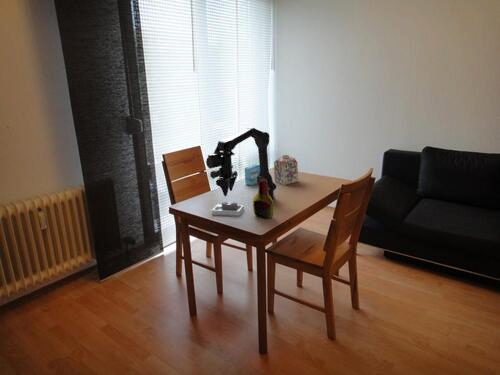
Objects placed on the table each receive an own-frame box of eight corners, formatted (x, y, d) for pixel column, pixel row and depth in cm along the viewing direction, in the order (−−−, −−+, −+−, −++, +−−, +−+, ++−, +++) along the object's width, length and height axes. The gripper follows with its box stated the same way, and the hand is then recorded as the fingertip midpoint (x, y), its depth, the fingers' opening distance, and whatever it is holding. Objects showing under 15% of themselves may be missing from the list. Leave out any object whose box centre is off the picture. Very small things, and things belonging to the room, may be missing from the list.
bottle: (276, 216, 182) (275, 179, 176) (269, 221, 177) (267, 182, 171) (258, 212, 189) (256, 176, 183) (250, 216, 185) (248, 179, 179)
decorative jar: (288, 178, 247) (287, 152, 242) (298, 181, 238) (298, 155, 232) (273, 181, 242) (272, 155, 236) (283, 185, 232) (283, 158, 227)
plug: (238, 209, 192) (237, 202, 191) (236, 212, 189) (236, 205, 188) (219, 208, 195) (218, 202, 194) (216, 211, 192) (216, 204, 190)
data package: (250, 185, 235) (249, 168, 231) (245, 184, 238) (244, 167, 235) (262, 181, 243) (261, 164, 239) (257, 180, 246) (257, 163, 242)
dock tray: (243, 209, 194) (243, 205, 194) (239, 215, 186) (239, 211, 185) (217, 208, 198) (217, 204, 197) (212, 214, 190) (211, 210, 189)
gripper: (217, 160, 194) (219, 187, 199) (205, 169, 177) (207, 198, 182) (236, 160, 192) (238, 188, 196) (226, 169, 174) (228, 199, 179)
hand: (228, 193), depth 189 cm, fingers open, 9 cm apart
